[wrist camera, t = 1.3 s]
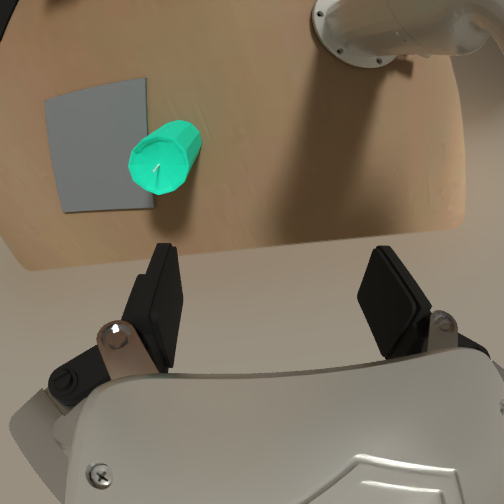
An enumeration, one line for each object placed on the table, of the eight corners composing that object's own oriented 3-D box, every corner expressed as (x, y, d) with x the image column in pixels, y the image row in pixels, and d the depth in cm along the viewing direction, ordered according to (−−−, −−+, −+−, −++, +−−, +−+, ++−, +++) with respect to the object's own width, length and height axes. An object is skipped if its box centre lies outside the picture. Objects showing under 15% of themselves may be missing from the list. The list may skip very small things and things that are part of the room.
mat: (146, 77, 27) (145, 77, 27) (154, 206, 37) (154, 207, 37) (46, 100, 26) (44, 100, 26) (64, 211, 36) (62, 212, 36)
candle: (148, 134, 31) (111, 159, 22) (188, 111, 30) (165, 125, 20) (169, 172, 35) (144, 212, 25) (209, 151, 34) (198, 184, 24)
